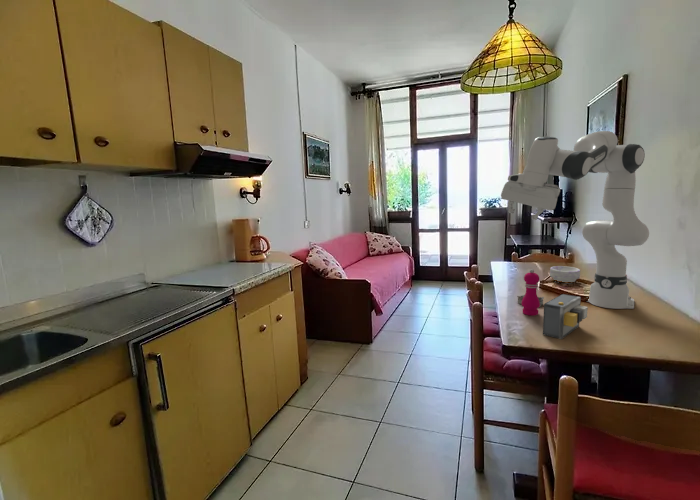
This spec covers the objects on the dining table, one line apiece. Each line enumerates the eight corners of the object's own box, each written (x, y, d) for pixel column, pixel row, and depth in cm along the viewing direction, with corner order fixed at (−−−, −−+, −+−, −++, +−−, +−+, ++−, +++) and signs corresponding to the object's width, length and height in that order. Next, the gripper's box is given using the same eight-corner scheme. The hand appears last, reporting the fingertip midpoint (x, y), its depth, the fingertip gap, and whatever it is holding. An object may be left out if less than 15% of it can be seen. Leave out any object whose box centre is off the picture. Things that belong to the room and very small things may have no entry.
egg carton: (515, 304, 173) (516, 295, 173) (521, 300, 179) (521, 292, 178) (539, 308, 166) (539, 299, 165) (544, 304, 171) (545, 296, 171)
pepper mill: (541, 316, 154) (543, 270, 152) (523, 315, 156) (525, 270, 153) (536, 311, 161) (538, 267, 158) (519, 310, 163) (520, 267, 160)
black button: (570, 318, 137) (570, 308, 136) (582, 320, 134) (582, 310, 133) (566, 320, 135) (567, 310, 134) (578, 323, 132) (579, 312, 131)
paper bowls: (576, 286, 200) (577, 272, 198) (546, 282, 210) (546, 269, 209) (582, 280, 211) (583, 267, 209) (553, 277, 221) (553, 264, 220)
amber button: (564, 321, 134) (565, 311, 133) (576, 324, 131) (577, 313, 130) (561, 324, 131) (561, 313, 131) (573, 327, 128) (573, 316, 128)
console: (561, 322, 147) (562, 292, 145) (579, 326, 142) (580, 295, 140) (542, 334, 135) (544, 302, 133) (561, 339, 130) (563, 305, 128)
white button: (575, 314, 141) (575, 304, 140) (587, 317, 138) (587, 307, 137) (572, 316, 138) (572, 306, 138) (583, 319, 135) (584, 309, 135)
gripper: (565, 186, 130) (552, 223, 134) (512, 176, 144) (502, 209, 148) (558, 185, 126) (545, 223, 130) (504, 175, 140) (494, 209, 144)
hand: (522, 216), depth 139 cm, fingers open, 8 cm apart
